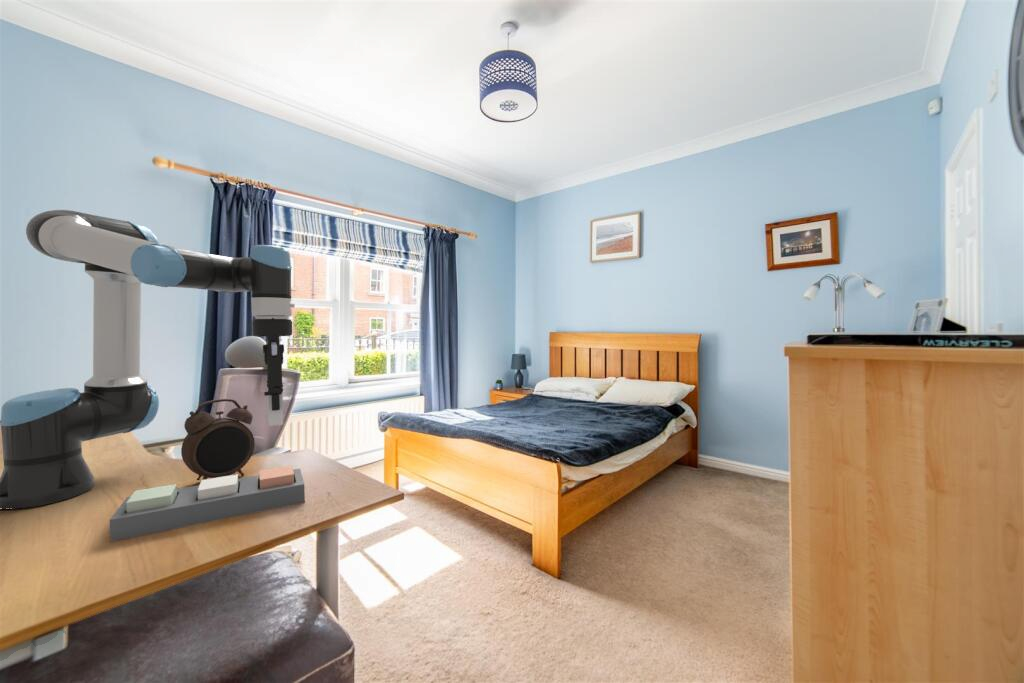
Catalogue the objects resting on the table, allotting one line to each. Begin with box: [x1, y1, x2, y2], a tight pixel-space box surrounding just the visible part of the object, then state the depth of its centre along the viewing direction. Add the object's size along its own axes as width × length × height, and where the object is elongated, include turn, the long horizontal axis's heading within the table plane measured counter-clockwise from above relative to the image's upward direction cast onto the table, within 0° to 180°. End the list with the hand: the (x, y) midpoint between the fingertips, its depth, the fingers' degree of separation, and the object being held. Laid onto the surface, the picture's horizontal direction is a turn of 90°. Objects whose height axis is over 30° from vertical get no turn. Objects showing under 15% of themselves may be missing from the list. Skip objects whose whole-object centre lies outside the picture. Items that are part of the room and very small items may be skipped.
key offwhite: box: [198, 473, 239, 500], centre depth 86 cm, size 6×6×3 cm
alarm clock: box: [180, 398, 256, 481], centre depth 102 cm, size 15×7×20 cm, turn 143°
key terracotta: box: [259, 465, 294, 489], centre depth 91 cm, size 6×6×3 cm
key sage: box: [126, 483, 178, 513], centre depth 80 cm, size 6×6×3 cm
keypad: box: [109, 468, 306, 543], centre depth 86 cm, size 11×31×4 cm, turn 122°
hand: (275, 420), depth 91 cm, fingers open, 9 cm apart
